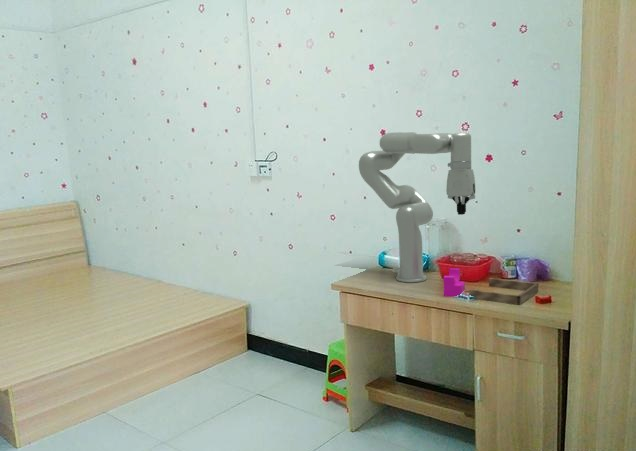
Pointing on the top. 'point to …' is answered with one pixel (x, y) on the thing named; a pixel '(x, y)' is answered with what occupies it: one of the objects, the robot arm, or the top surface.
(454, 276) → the toy block
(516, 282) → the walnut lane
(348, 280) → the top surface
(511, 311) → the top surface
